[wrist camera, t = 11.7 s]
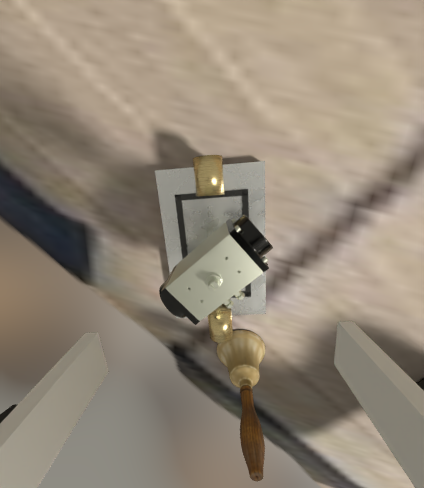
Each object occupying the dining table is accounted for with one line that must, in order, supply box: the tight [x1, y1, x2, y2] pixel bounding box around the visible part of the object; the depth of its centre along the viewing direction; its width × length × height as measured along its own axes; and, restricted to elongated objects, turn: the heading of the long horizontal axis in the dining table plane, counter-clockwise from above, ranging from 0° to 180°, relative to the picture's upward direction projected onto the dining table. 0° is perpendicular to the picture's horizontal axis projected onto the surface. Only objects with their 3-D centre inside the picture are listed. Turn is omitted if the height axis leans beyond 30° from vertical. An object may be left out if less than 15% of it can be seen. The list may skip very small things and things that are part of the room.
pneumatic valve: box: [159, 214, 273, 325], centre depth 23 cm, size 6×12×12 cm, turn 132°
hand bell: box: [217, 330, 265, 481], centre depth 27 cm, size 8×8×16 cm
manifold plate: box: [155, 155, 266, 343], centre depth 27 cm, size 23×14×7 cm, turn 4°
